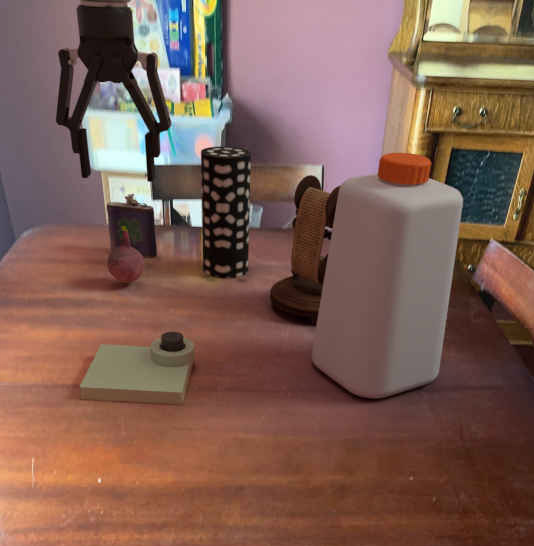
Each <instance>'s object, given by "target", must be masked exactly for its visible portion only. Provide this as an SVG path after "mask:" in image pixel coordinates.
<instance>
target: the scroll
mask: <svg viewBox="0 0 534 546" xmlns="http://www.w3.org/2000/svg"><path fill="white" fill-rule="evenodd" d="M340 186H341V184H339V185H338V186H336V187H335V188H333V190H332V191H331V192H328V191H325V190H322V184H321V182H320V180H319V178H318V177H317V176H315V175H313V174H309V175H308V174H307V175H306V176H304V177H303V178H302V179H301V180H300V181H299V182H298V184H297V186H296V188H295V191H294V196H293V197H294V207H295V208H296V209H295V215H296V216H295V217H294V218H293V220H292V222H291V223H292V228H293V230H294V231H293V238H292V248H291V255H290V265H291V268H290V269H291V270H290V272H291V274H292V275H291V276H288V277H284V278H283V279H281V280H279V281H277V282H275V283H274V284H273V285H272V286H271V288H270V293H269V295H270V296H269V299H270V301H271V304H272V305H273V306H275V307H276V308H278V309H280V310H281V311H283V312H286V313H289V314H292V315H296V316H300V317H306V318H310V321H311V325H313V326H314V325H317V319H318V313H319V307H320V301H321V295H322V289H323V283H324V277H325V271H326V265H327V259H328V253H327V254H326V255H325V256H323V255H322V251H323V250H322V249H323V244H324V241H325V239H327V240H329V241H331V235H332V231H329V229H331V230H332V229H333V223H334V217H335V211H336V205H337V199H338V193H339V189H340Z"/></svg>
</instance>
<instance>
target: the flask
mask: <svg viewBox="0 0 534 546" xmlns="http://www.w3.org/2000/svg"><path fill="white" fill-rule="evenodd" d="M134 196H135V194H134V193H130V194H128V195H126V196H124V199H125V200H126V202H120V201H109V202H107V203H106V207H105V209H106V212H107V221H108V232H109V233H108V234H109V243H110V251H111V252H112V251H113V250H114V249H116V248H118V247H120V246H121V245H122V243H123V231H122V229H123V228H122V226H125V228H126V229H127V231H128V235H129V240H130V245H131V247H133V248H135V249H136V250H138V251H139V252H140V253H141V255H142V256H143V258H144V257H145V258H149V259H151V258H156V257H157V256H158V254H157V253H158V249H157V248H158V247H157V246H158V245H157V236H156V234H157V233H156V222H155V221H156V220H155V209H154V207H153V206H152V205H148V204H147V203H145V202H142V204H141V202H138V200H136V199H134Z"/></svg>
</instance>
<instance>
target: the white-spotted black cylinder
mask: <svg viewBox="0 0 534 546" xmlns="http://www.w3.org/2000/svg"><path fill="white" fill-rule="evenodd" d="M251 162H252V152H251V150H249V149H246V148H243V147H237V146H223V145H222V146H209V147H205V148H202V149H201V150H200V179H201V184H200V185H201V230H202V232H201V236H202V237H201V238H202V239H201V240H202V241H201V242H202V270H203V272H204V274H206V275H208V276H210V277H214V278H222V279H232V278H238V277H239V278H240V277H242V276H245V275H246V274H247V273H248V272H249V254H250V253H249V247H250V244H249V243H250V209H251V208H250V206H251V167H252V165H251V164H252V163H251Z"/></svg>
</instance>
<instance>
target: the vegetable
mask: <svg viewBox="0 0 534 546" xmlns="http://www.w3.org/2000/svg"><path fill="white" fill-rule="evenodd" d="M122 228H123V229H122V231H123V243H122V245H121V246H120V247H118V248H116V249H114V250H113V251H111V252H110V253H109V254H108V256H107V259H106V266H107V270H108V272H109V273H110V275H111V276H112V277H113V278H114V279H116V280H117V281H119V282H121V283H123V285H125V286H126V285H131V284H133V282H136V281H137V280H138V279H139V278H141V276H142V275H143V273H144V272H145V269H146V262H145V258H144V257H143V256H142V255H141V253H140V252H139V251H138V250H136V249H135V248H133V247H131V245H130V240H129V235H128V231H127V229H126V228H125V226H122Z"/></svg>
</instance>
